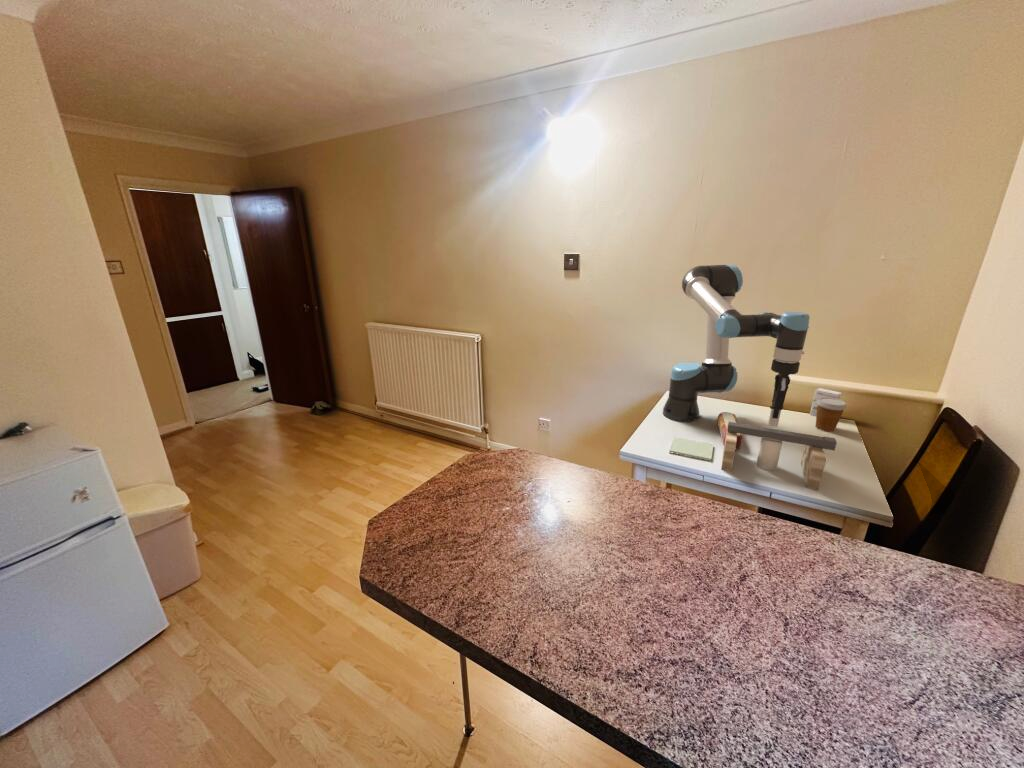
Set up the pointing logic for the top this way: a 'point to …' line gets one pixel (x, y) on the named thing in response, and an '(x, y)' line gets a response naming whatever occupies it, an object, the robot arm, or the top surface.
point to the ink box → (823, 393)
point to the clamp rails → (810, 462)
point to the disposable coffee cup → (829, 413)
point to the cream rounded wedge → (769, 454)
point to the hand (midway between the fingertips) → (772, 425)
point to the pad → (692, 448)
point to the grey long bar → (783, 435)
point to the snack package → (723, 423)
